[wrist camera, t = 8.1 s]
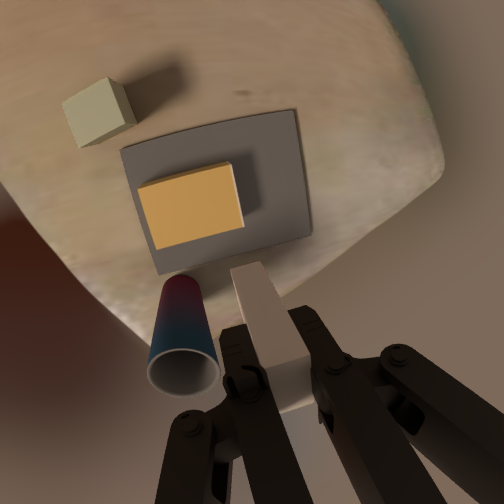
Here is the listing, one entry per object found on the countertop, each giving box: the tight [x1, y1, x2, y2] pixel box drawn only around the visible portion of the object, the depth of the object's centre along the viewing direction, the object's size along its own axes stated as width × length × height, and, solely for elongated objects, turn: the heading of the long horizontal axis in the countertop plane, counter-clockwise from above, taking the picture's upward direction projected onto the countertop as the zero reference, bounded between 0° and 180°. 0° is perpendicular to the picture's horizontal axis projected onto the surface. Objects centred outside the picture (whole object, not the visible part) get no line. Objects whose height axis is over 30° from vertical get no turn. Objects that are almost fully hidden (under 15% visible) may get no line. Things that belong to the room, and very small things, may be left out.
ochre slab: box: [137, 161, 245, 250], centre depth 32 cm, size 7×3×10 cm
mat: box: [120, 110, 311, 275], centre depth 34 cm, size 16×20×1 cm
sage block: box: [61, 77, 137, 148], centre depth 25 cm, size 5×5×7 cm
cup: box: [147, 275, 221, 398], centre depth 32 cm, size 7×7×15 cm
